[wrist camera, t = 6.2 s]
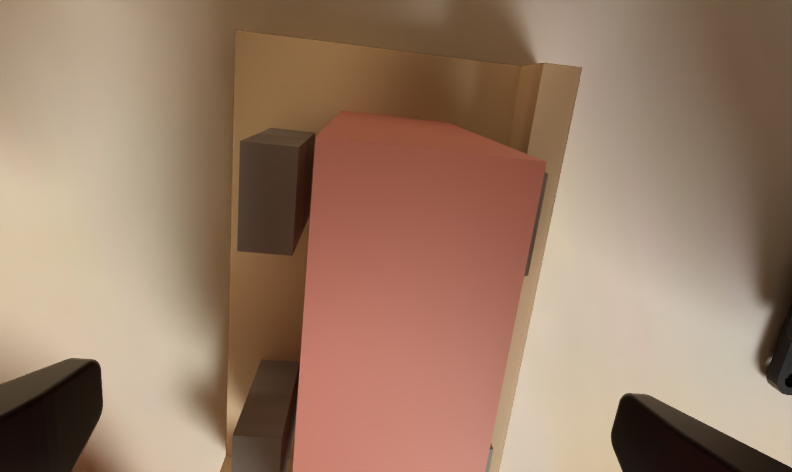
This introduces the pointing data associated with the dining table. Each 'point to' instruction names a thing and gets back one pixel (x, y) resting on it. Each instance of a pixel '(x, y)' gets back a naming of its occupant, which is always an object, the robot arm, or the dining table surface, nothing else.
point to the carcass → (292, 189)
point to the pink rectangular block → (409, 294)
